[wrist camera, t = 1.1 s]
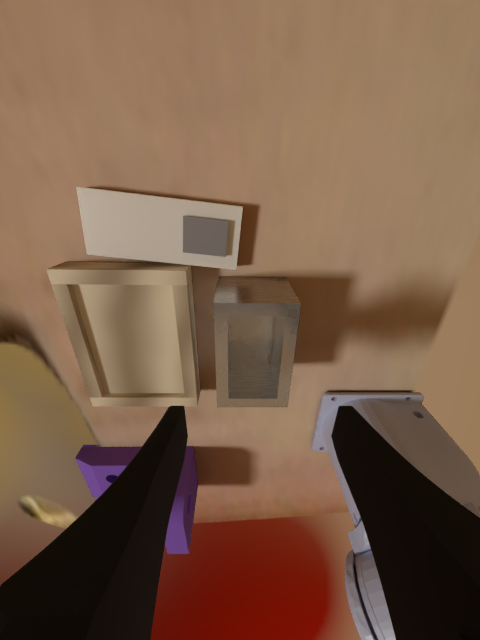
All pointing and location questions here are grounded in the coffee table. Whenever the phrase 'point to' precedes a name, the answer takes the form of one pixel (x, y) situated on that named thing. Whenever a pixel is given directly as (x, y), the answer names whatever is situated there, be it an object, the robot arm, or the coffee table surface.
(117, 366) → the beige shallow tray
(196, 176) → the coffee table surface
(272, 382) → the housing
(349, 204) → the coffee table surface
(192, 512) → the bracket
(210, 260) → the block
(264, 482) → the coffee table surface
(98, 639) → the robot arm
